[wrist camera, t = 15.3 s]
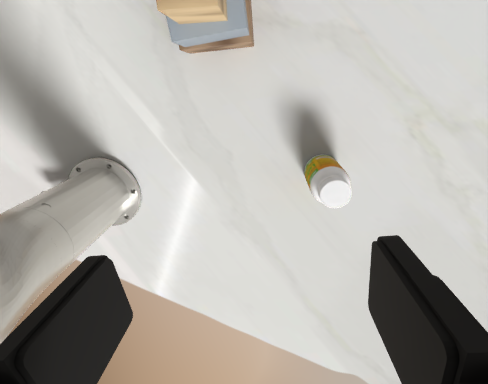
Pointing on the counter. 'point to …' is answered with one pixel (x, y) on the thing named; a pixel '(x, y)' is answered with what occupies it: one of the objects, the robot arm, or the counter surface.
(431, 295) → the robot arm
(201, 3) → the oak block
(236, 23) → the grey square block
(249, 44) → the tower base
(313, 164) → the supplement bottle
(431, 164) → the counter surface
